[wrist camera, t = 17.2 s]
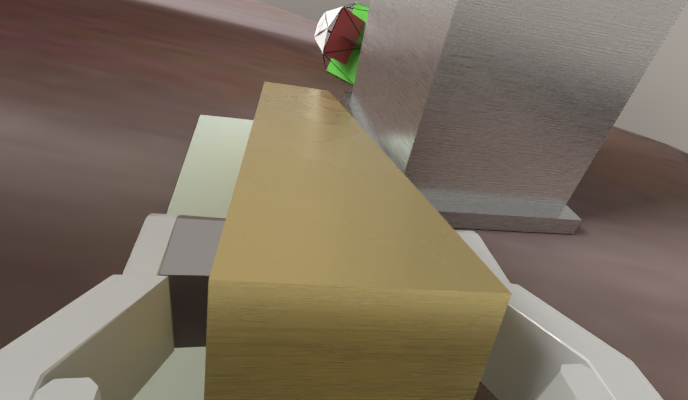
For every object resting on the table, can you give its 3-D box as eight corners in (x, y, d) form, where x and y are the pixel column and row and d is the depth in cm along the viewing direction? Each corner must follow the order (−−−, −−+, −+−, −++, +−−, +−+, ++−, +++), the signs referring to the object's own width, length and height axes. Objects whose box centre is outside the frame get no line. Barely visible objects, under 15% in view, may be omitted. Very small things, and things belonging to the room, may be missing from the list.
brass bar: (441, 488, 6) (511, 293, 5) (200, 501, 5) (208, 280, 4) (320, 151, 23) (328, 90, 22) (259, 145, 23) (264, 81, 22)
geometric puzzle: (366, 43, 43) (344, -28, 37) (415, 64, 40) (400, -12, 33) (320, 87, 42) (288, 21, 35) (365, 112, 38) (339, 44, 32)
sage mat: (478, 571, 9) (491, 559, 9) (33, 643, 7) (22, 633, 7) (341, 140, 27) (343, 129, 27) (200, 126, 25) (200, 114, 25)
